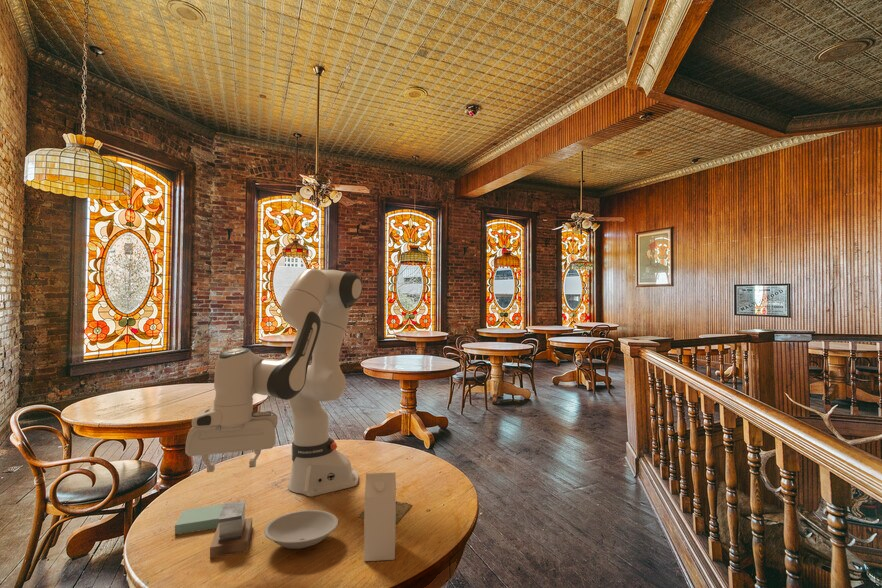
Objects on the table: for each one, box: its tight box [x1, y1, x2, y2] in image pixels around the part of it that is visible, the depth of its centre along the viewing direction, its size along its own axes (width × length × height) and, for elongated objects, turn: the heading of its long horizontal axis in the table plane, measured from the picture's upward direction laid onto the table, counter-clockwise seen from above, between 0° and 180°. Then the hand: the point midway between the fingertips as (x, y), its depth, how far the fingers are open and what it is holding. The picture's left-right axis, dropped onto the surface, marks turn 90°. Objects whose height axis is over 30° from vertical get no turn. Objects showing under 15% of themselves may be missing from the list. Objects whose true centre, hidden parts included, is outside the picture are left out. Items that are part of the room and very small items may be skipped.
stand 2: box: [209, 517, 253, 559], centre depth 102 cm, size 8×11×2 cm
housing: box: [218, 499, 247, 543], centre depth 102 cm, size 5×8×6 cm, turn 19°
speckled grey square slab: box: [357, 500, 413, 525], centre depth 117 cm, size 12×12×1 cm
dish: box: [263, 509, 339, 550], centre depth 101 cm, size 18×14×5 cm
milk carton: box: [363, 472, 397, 562], centre depth 98 cm, size 7×7×19 cm
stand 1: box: [174, 503, 224, 535], centre depth 110 cm, size 11×8×2 cm
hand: (232, 469), depth 102 cm, fingers open, 8 cm apart
